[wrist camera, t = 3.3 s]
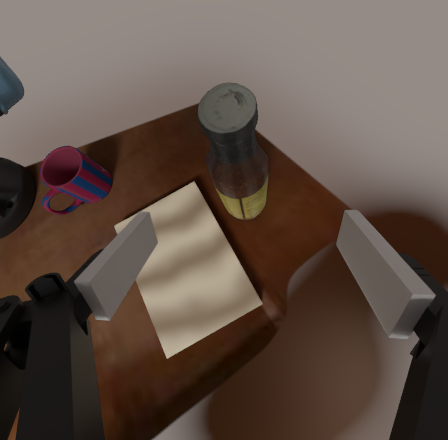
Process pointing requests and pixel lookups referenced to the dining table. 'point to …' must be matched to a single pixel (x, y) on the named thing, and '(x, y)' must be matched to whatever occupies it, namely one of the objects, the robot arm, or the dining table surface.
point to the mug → (73, 178)
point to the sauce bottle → (235, 149)
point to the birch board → (191, 272)
